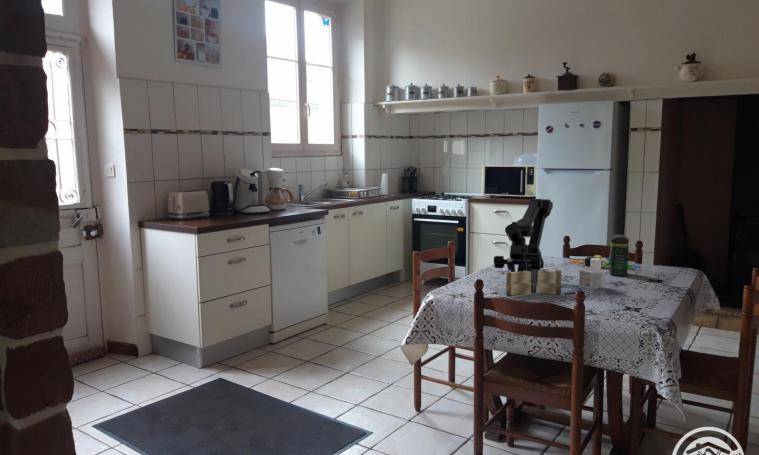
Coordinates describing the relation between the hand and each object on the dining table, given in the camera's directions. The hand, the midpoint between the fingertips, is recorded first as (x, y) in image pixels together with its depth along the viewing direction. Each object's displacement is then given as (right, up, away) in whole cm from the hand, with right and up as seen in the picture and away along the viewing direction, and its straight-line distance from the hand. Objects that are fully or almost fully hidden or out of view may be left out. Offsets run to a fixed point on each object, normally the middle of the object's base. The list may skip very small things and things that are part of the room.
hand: (515, 279), depth 235 cm
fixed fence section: (+13, -5, -1) cm, 15 cm away
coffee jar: (+57, -1, +36) cm, 67 cm away
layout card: (+6, -6, +3) cm, 9 cm away
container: (+35, -4, +11) cm, 37 cm away
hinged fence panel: (+2, -6, 0) cm, 6 cm away
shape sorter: (+58, +2, +58) cm, 82 cm away
